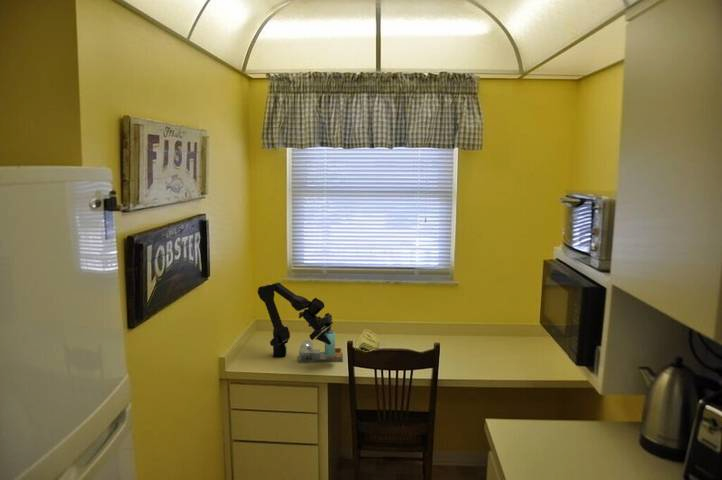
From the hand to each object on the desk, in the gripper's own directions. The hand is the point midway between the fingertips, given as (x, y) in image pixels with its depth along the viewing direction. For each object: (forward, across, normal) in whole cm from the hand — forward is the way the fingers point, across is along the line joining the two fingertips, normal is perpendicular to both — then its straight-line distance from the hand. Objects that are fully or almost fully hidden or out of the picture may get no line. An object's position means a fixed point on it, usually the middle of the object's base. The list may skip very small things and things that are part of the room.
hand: (332, 342), depth 261 cm
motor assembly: (+2, +8, +16) cm, 18 cm away
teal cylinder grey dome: (+4, 0, +6) cm, 7 cm away
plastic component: (+15, +34, +3) cm, 37 cm away
